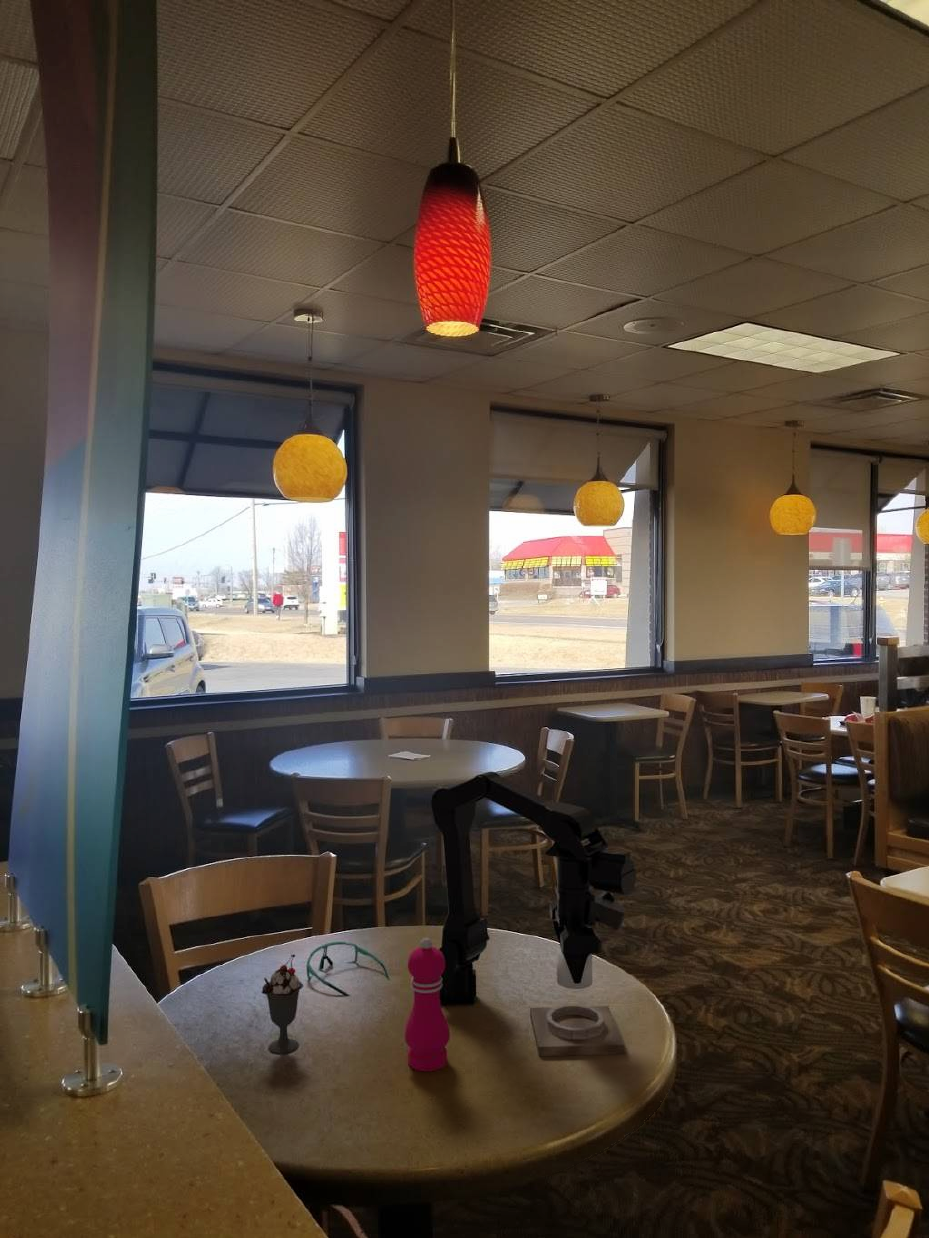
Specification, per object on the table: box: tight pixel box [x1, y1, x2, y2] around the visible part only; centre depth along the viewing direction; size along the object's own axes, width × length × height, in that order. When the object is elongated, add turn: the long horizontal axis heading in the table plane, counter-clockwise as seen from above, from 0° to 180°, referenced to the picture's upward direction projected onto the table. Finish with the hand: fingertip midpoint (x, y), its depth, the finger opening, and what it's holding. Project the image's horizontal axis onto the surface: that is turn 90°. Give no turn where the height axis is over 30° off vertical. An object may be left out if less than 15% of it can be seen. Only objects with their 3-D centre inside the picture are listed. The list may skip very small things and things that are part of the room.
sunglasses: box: [306, 941, 391, 997], centre depth 177 cm, size 14×15×5 cm
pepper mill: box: [404, 937, 451, 1072], centre depth 144 cm, size 7×7×20 cm
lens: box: [556, 947, 593, 990], centre depth 153 cm, size 6×6×5 cm
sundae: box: [261, 954, 304, 1055], centre depth 150 cm, size 7×7×15 cm
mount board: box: [529, 1003, 626, 1057], centre depth 153 cm, size 14×14×3 cm
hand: (574, 975), depth 153 cm, fingers closed on lens, 6 cm apart
